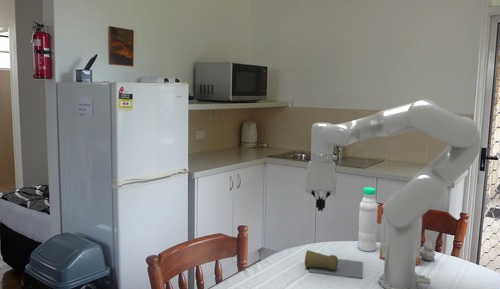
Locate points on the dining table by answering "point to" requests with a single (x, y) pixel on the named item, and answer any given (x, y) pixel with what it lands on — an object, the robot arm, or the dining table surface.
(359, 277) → the rubber mat
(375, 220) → the water bottle
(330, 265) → the cork
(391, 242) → the robot arm
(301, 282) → the dining table surface
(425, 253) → the rubber duck
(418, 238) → the cracker box
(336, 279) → the dining table surface
